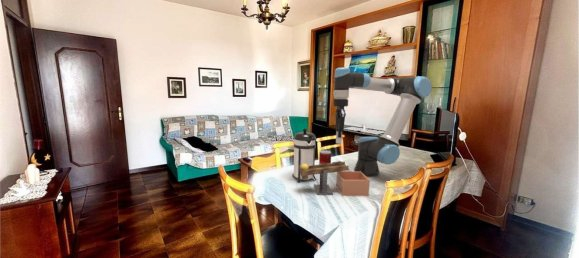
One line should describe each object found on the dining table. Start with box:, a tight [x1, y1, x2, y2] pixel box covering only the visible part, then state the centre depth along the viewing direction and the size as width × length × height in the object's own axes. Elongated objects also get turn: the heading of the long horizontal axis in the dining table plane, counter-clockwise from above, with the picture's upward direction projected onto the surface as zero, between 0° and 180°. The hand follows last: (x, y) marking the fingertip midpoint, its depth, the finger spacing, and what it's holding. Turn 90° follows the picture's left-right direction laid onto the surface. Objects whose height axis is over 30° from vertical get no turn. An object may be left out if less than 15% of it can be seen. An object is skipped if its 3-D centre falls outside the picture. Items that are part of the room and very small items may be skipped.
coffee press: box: [291, 127, 317, 183], centre depth 139 cm, size 17×16×30 cm
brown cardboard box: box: [335, 170, 371, 197], centre depth 124 cm, size 13×13×8 cm
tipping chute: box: [299, 160, 350, 180], centre depth 125 cm, size 24×13×6 cm, turn 92°
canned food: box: [318, 149, 332, 165], centre depth 161 cm, size 8×8×11 cm
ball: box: [301, 164, 309, 171], centre depth 122 cm, size 4×4×4 cm
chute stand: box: [313, 170, 334, 196], centre depth 123 cm, size 8×11×13 cm
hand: (338, 143), depth 127 cm, fingers closed
